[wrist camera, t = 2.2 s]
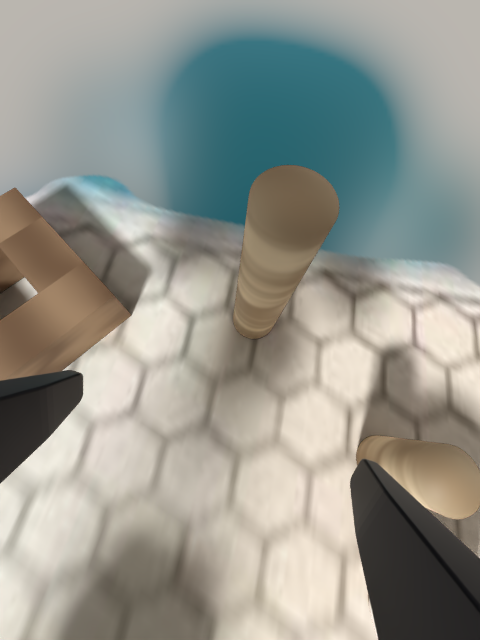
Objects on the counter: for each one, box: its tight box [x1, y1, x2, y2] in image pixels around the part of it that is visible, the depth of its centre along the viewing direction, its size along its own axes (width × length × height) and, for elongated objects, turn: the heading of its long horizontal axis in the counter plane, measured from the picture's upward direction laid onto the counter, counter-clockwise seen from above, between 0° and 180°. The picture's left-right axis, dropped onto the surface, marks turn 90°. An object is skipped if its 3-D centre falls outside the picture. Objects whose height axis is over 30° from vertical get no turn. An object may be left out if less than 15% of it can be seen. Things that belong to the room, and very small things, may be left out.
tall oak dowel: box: [233, 165, 339, 339], centre depth 17 cm, size 3×3×14 cm
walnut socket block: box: [0, 188, 131, 381], centre depth 21 cm, size 12×12×4 cm
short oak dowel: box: [356, 435, 480, 519], centre depth 18 cm, size 3×3×7 cm
